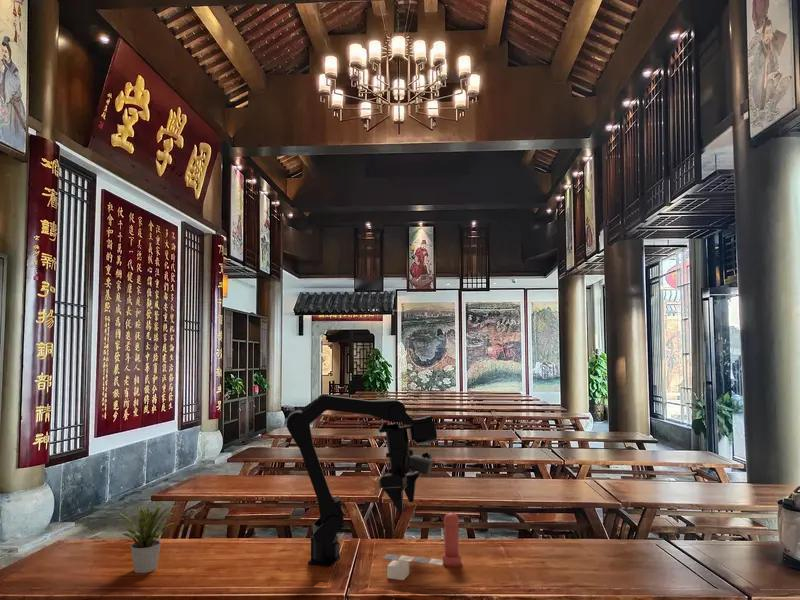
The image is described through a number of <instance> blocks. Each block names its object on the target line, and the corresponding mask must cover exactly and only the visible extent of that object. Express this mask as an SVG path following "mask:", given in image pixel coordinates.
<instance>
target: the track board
mask: <svg viewBox="0 0 800 600" xmlns="http://www.w3.org/2000/svg"><path fill="white" fill-rule="evenodd" d="M382 559H383V560H390V561H391V560H392V561H393V560H397V561H406V562H409V563H410V562H412V563H418V564H419V563H421V564H429V565H437V566H443V559H440V558H429V557H420V556H419V557H418V556H410V555H399V554H393V553H387V554H385V555H384V556H383V557H382ZM455 567H459V566H455Z"/></svg>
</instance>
